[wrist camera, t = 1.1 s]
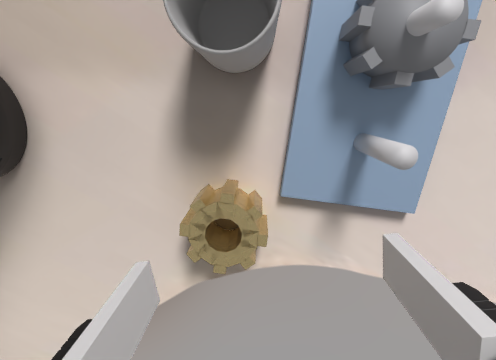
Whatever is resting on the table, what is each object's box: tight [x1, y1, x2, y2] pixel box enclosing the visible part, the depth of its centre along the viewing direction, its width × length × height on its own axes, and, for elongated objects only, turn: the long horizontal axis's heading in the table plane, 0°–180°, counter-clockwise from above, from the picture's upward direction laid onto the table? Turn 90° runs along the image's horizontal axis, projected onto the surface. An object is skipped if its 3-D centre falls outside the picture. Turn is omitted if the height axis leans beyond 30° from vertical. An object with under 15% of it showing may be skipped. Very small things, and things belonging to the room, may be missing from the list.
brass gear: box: [179, 179, 268, 274], centre depth 32 cm, size 10×10×6 cm
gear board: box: [280, 0, 482, 214], centre depth 25 cm, size 16×26×10 cm, turn 173°
